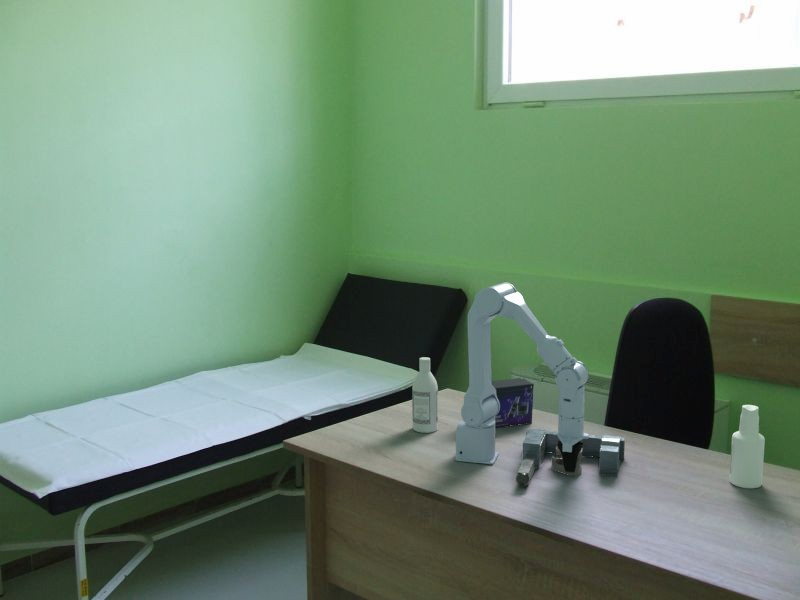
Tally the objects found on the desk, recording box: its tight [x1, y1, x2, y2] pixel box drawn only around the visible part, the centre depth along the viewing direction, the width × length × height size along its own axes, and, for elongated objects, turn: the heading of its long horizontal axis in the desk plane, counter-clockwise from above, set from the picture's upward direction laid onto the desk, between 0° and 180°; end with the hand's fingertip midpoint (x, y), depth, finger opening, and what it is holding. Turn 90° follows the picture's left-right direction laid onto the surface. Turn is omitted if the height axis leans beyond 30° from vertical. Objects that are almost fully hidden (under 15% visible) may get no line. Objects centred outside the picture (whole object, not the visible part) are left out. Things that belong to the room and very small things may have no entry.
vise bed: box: [525, 428, 626, 477], centre depth 201 cm, size 24×13×7 cm, turn 72°
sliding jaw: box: [515, 428, 547, 487], centre depth 196 cm, size 4×24×6 cm, turn 163°
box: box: [491, 377, 535, 429], centre depth 229 cm, size 17×7×12 cm, turn 111°
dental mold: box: [550, 447, 584, 477], centre depth 196 cm, size 8×7×5 cm
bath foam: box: [411, 356, 439, 434], centre depth 225 cm, size 7×7×20 cm
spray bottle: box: [729, 404, 766, 489], centre depth 186 cm, size 7×7×18 cm
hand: (569, 471), depth 192 cm, fingers closed
